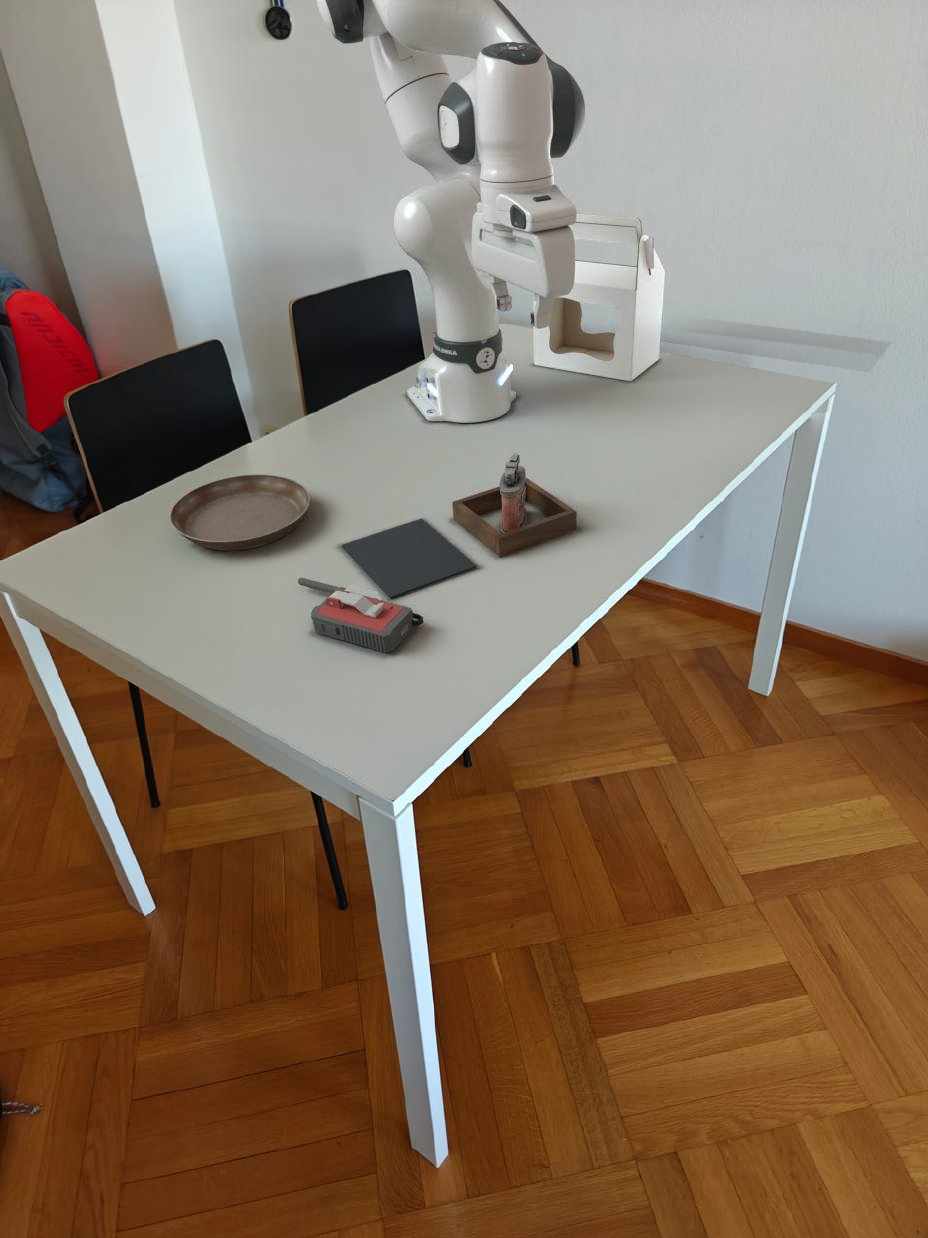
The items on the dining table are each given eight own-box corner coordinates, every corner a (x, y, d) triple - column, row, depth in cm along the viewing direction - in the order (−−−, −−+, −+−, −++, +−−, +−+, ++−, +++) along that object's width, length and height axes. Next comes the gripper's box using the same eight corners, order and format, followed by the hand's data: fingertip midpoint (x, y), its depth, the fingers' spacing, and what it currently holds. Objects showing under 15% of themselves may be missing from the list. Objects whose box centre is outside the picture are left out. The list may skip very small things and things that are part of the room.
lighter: (521, 539, 126) (520, 475, 120) (497, 537, 126) (495, 474, 120) (529, 511, 132) (528, 449, 126) (507, 510, 133) (505, 449, 127)
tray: (453, 519, 131) (452, 501, 130) (526, 495, 136) (526, 477, 135) (499, 557, 122) (498, 538, 120) (576, 529, 127) (577, 511, 125)
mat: (341, 547, 127) (341, 544, 127) (421, 520, 132) (421, 518, 131) (390, 599, 115) (390, 596, 115) (476, 568, 120) (476, 565, 120)
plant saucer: (335, 499, 139) (332, 480, 137) (271, 568, 123) (266, 548, 121) (222, 485, 145) (217, 467, 143) (146, 550, 129) (140, 530, 127)
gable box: (532, 365, 182) (530, 218, 165) (563, 345, 190) (564, 203, 174) (632, 382, 171) (640, 227, 155) (660, 360, 180) (671, 211, 163)
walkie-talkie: (433, 619, 111) (304, 584, 119) (431, 590, 109) (299, 556, 117) (397, 659, 105) (264, 619, 113) (393, 629, 102) (257, 591, 111)
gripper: (456, 195, 114) (463, 304, 122) (537, 218, 99) (540, 342, 106) (499, 188, 116) (503, 296, 124) (585, 210, 101) (584, 331, 109)
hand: (521, 318), depth 115 cm, fingers open, 8 cm apart
